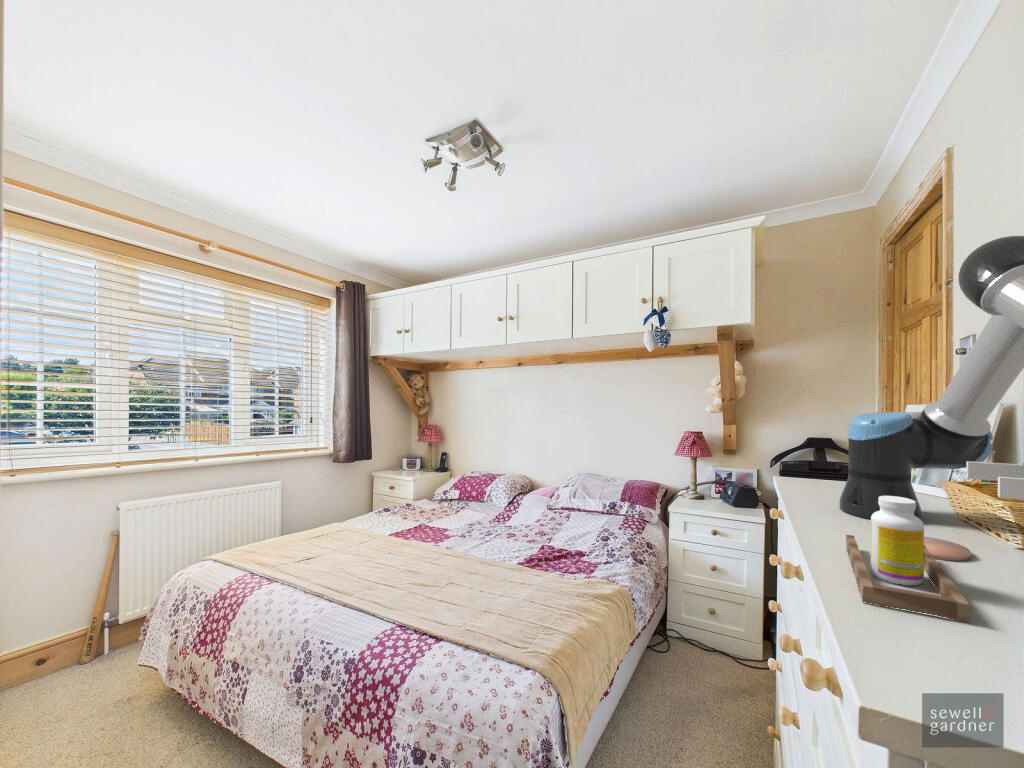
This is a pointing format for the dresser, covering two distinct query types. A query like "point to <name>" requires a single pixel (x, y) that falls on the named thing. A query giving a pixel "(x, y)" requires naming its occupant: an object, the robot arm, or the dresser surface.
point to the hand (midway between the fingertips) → (981, 477)
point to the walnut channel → (944, 605)
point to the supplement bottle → (897, 542)
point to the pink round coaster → (946, 550)
